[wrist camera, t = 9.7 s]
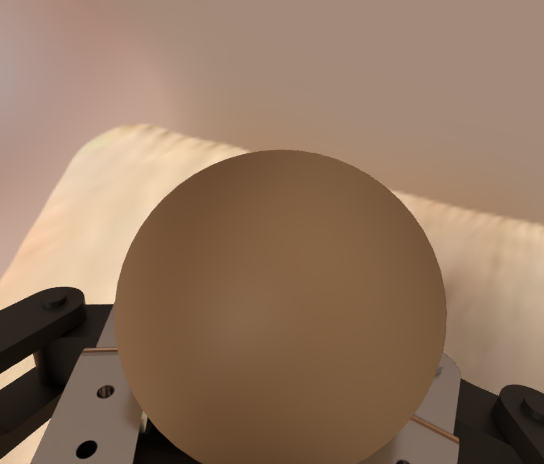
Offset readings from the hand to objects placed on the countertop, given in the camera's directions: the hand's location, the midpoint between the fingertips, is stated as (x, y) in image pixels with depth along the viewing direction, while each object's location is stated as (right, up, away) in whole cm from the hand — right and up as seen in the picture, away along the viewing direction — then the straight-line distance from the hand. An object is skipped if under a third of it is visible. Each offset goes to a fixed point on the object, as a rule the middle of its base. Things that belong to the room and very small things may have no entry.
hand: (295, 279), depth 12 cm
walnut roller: (0, -4, +4) cm, 6 cm away
